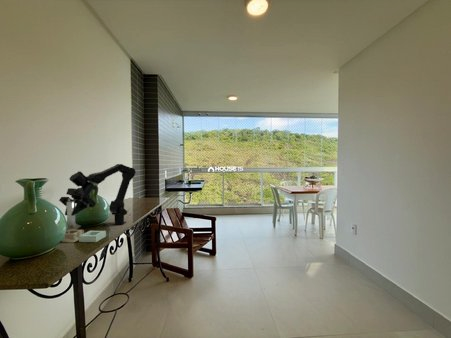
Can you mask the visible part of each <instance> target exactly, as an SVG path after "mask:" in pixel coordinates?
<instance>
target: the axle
mask: <svg viewBox="0 0 451 338" xmlns="http://www.w3.org/2000/svg"><path fill="white" fill-rule="evenodd" d="M75 207H76V203H75V201H68V202H67V215H66V226H67V227H66V228H67V229H68V230H73V229H74V228H76V214H75V215H73V216H72V215H71V214H72V212H73V210H74V209H75Z"/></svg>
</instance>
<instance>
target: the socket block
mask: <svg viewBox="0 0 451 338" xmlns="http://www.w3.org/2000/svg"><path fill="white" fill-rule="evenodd" d="M106 236H107V230H88V231H86V232H84V234H82V235H80V236H79V240H78V242H79V243H97V242H99V241H100V240H102V239H104V238H106Z"/></svg>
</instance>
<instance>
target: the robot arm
mask: <svg viewBox="0 0 451 338" xmlns="http://www.w3.org/2000/svg"><path fill="white" fill-rule="evenodd" d="M118 172H119V173H121V179H122V180H121V182H120V185H119V188H118V191H117V195H116V198H115V199H114V200H111V201H110V204H109V212H111V215H113V216H114V222H113V223H112V224H111V225H112V226H116V225H117V226H122V225H124V224H126V223H127V221H125V216H126V215H127V214H128V210H126V209H125V202H124V201H125V197H126V196H127V195H126V194H127V191H128V189H129V185H130V182H131V181H132V180H133V178H134V177H135V175H136V169H135V168H134V167H129V166H127V165H125V164H122V163H117V164H115V165H113V166H110V167H109V168H107V169H104V170H102V171H99V172H93V173H90V174H88V175H87V176H86V175H85V174H84V173H83V172H82V171H79V170H78V171H77V172H76V173H74V174H72V175H71V176H70V177H69V181H70V182H71V183H73V185H76V187H78V188H73V187H72V188H71V187H70V188H67V190H66V194H65V195H68V196H61V197H60V198H59V200H58V201H59V202H60V203H62V205H63V206H65V207H66V208H65V211H64V215H65V216H67V202H68V201H75V204H76V205H75V209H74V210H73V212H72V214H71V215H72V216H73V215H75V216H76V215H77V214H79V213H80V212H81V211H83V210H85V209H88V207H89V208H95V206H96V204H97V202H96V201H95V200H94V199H93V198H92V197H91V195H90V194H91V193H92V192H93V191H95V190H98V187H97V185H96V184H101V183H103V181H105V180H106V178H107V177H110V176H112V175H114V174H116V173H118ZM69 196H71V197H69Z"/></svg>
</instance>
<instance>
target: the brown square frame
mask: <svg viewBox="0 0 451 338" xmlns="http://www.w3.org/2000/svg"><path fill="white" fill-rule="evenodd" d="M66 231H67V232H66V235H65V238H64V240H63V241H62V242H61V243H75V242H77V241H79V236H80V235H82V234H84V233H85V230H84V229H68V230H66Z"/></svg>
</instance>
